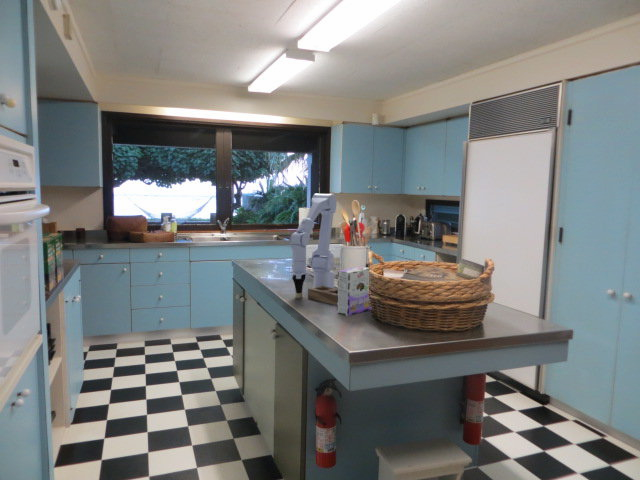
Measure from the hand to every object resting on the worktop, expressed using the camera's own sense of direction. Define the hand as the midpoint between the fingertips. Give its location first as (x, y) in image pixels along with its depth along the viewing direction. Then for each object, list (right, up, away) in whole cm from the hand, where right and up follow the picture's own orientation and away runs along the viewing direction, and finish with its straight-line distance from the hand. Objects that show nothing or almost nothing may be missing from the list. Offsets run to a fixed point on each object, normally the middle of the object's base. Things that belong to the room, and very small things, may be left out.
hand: (298, 292), depth 196 cm
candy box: (+22, -5, -20) cm, 30 cm away
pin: (0, -2, 0) cm, 2 cm away
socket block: (+13, -3, -2) cm, 13 cm away
